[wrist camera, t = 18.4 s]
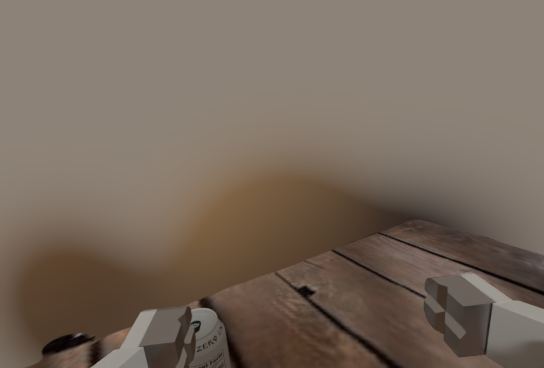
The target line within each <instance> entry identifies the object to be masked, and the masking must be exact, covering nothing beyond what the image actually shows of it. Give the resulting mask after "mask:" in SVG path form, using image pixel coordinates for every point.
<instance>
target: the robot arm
mask: <svg viewBox="0 0 544 368" xmlns="http://www.w3.org/2000/svg"><path fill="white" fill-rule="evenodd" d="M425 290H426V291H427V293H428V296H427V297H426V298H425V300H424V311H425V315H426V318H427V320H428V321H429V323H430V325H431V326H432V327H433V328H434V329H435V330H436V331H438V332H440V333H442V334H444V341H445V342H446V344H447V345H448V346H449V347H450V348H451V349H452V350H453V352H454V353H455V354H456V355H457V356H458V357H468V356H478V355H486V357H488V358H490V359H491V360H493V361H495V362H496V363H498V364H499V365H501V366H503V367H504V368H544V309H542V308H539V307H536V306H533V305H530V304H527V303H524V302H521V301H513V300H511V299H510V298H508V297H507V296H506V295H504V294H503V293H501V292H500V291H499V290H497V289H496V288H494V287H493V286H491V285H490V284H489V283H487V282H486V281H484V280H483V279H481V278H480V277H479V276H477V275H476V274H474V273H470V272H468V273H461V274H455V275H450V276H442V277H434V278H427V280H426V282H425ZM191 320H192V313H191V308H190V307H189V306H183V307H173V308H162V309H153V310H145V311H142V312H141V313H140V314H139V316H138V318H137V319H136V321H135V323H134V325H133V326H132V328H131V330H130V332H129V333H128V335H127V337H126V339H125V340H124V342H123V344H122V346H121V347H120V349H118V350H114V351H112V352H111V353H110V354H108V355H107V356H106V357H104V358H103V359H102V360H100V361H99V362H98V363H96V364H95V365H94V366H92V367H91V368H189V364H190V363H191V362H192V361H193V360H194V355H195V348H196V335H195V329H194V327H193V326H192V325H190V323H191Z"/></svg>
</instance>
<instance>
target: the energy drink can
mask: <svg viewBox="0 0 544 368" xmlns="http://www.w3.org/2000/svg"><path fill="white" fill-rule="evenodd" d="M191 313H192V320H191V323H190V325H192V326H193V327H194V329H195V335H196V348H195V355H194V360H193V361H192V362H191V363H190V364H189V368H231V365H230V359H229V352H228V346H227V339H226V332H225V327H224V325H223V323H222V322H221V321H220V320H219V319H218V317H217V314H216V313H215V312H214V311H213V310H211V309H208V308H198V309H194V310H191Z"/></svg>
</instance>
